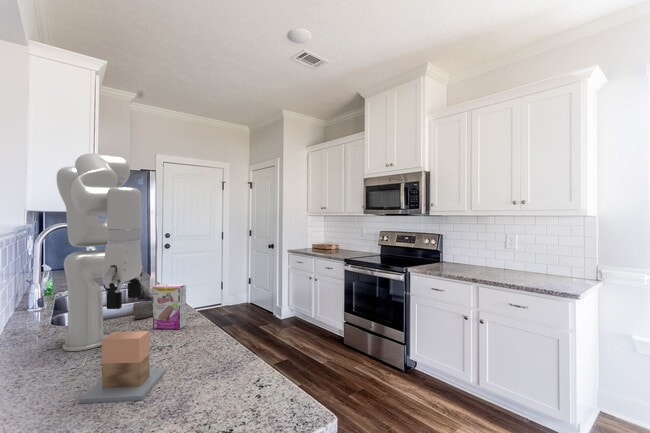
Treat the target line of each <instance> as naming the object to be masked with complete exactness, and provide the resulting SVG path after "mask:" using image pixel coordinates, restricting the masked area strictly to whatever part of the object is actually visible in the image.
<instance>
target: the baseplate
mask: <svg viewBox="0 0 650 433" xmlns="http://www.w3.org/2000/svg"><path fill="white" fill-rule="evenodd" d="M166 372H167V367H164V368H163V367H162V368H158V367H156V368H149V375H150V376H149V378H148V379H147V380H146V381H145V382H144V383H143V384H142V385H141V386H138V387H118V388H102V379H101V380H100V381H99V382H98V383H97V384H95V385H94V386H93V387H92V388H91V389H89V390H88V391H87V392H85V394H84V395H83V396H81V397H80V398H79V400H78V401H79V403H78V404H92V403H95V404H96V403H109V402H110V403H115V402H129V401H130V402H131V401H134V402H135V401H143V400H144V399H145V398H146V396H147V395H148V394H149V393H150V392H151V390H152V389H153V388H154V387H155V386H156V385H157V383H158V382H159V381H160V380H161V378H163V376H164V375H165V373H166Z"/></svg>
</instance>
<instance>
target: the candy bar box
mask: <svg viewBox="0 0 650 433" xmlns="http://www.w3.org/2000/svg"><path fill="white" fill-rule="evenodd" d="M186 294H187V286H186V284H168V283H166V284H164V283H163V284H162V283H160V284H157V285H153V286H152V300H153V316H152V329H153V330H177V331H178V330H179V331H180V330H182V329H183V328H185V327H186V326H187V295H186Z"/></svg>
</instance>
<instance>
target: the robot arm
mask: <svg viewBox="0 0 650 433" xmlns="http://www.w3.org/2000/svg"><path fill="white" fill-rule="evenodd" d="M130 175H131V168H130V163H129V162H128V161H127V159H125V158H124V157H122V156H118V155H111V154H110V155H108V154H101V153H85V154H82V155H80V156H78V157H77V158H76V160H75V162H74V166H64V167H62V168H60V169H58V170H57V172H56V186H57V189H58V193H59V195H60V197H61V200H62V201H63V203H64V206H65V211H66V212H65V213H66V228H67V230H66V231H67V238H68V242H69V244H70V245H71V246H72V247H77V248H90V247H92V248H93V247H105V249H91V250H80V251H74V252H72V253H70V254H68V255H67V256H65V258H64V261H63V268H64V272H65V273H64V274H65V278H66V284H67V303H68V304H67V314H68V319H67V320H68V323H67V324H68V325H67V327H68V331H66V332H64V331H62V332H59V333H58V335H57V337H56V339H57V340H56V341H63V340H64V343H63V344H62V350H63V351H66V352H80V351H81V352H82V351H87V350H90V349H91V350H92V349H95V348H97V347H100V346H101V347H102V339H103V338H105V337H107V336H108V335H109V334H104V302H103V300H104V298H103V297H104V295H103V289H104V292H105V293H106V310H120V309H122V307H123V306H122V305H123V304H122V303H123V302H122V301H123V299H122V297H123V296H122V294H123V292H122V291H121V288H122V286H123V284H125V283H127V282H128V283H127V298H128V299H139V298H141V297H142V279H143V278H142V276H143V270H144V264H143V263H142V260H143V259H142V250H141V249H142V248H141V242H142V192H141V191H140V189H138V188H136V187H128V186H127V187H125V186H124V185H125V184H126V182H127V181H128V180H129V178H130ZM123 186H124V187H123ZM99 216H106V218H104V219H101V218H100V219H99ZM98 278H101V280H102V283H103V289H102V287H101V286H100V285H99V284H98V283H97V282H96V281H95V280H96V279H98ZM94 279H95V280H94Z"/></svg>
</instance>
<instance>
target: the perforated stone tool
mask: <svg viewBox="0 0 650 433" xmlns="http://www.w3.org/2000/svg"><path fill="white" fill-rule="evenodd" d="M132 309H133V314H134V315H133V316H134V317H135V319H136V320H141V319H146V318H151V317H153V299H152V300H146V301H140V302H134V303H133V306H132ZM150 316H151V317H150Z"/></svg>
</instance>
